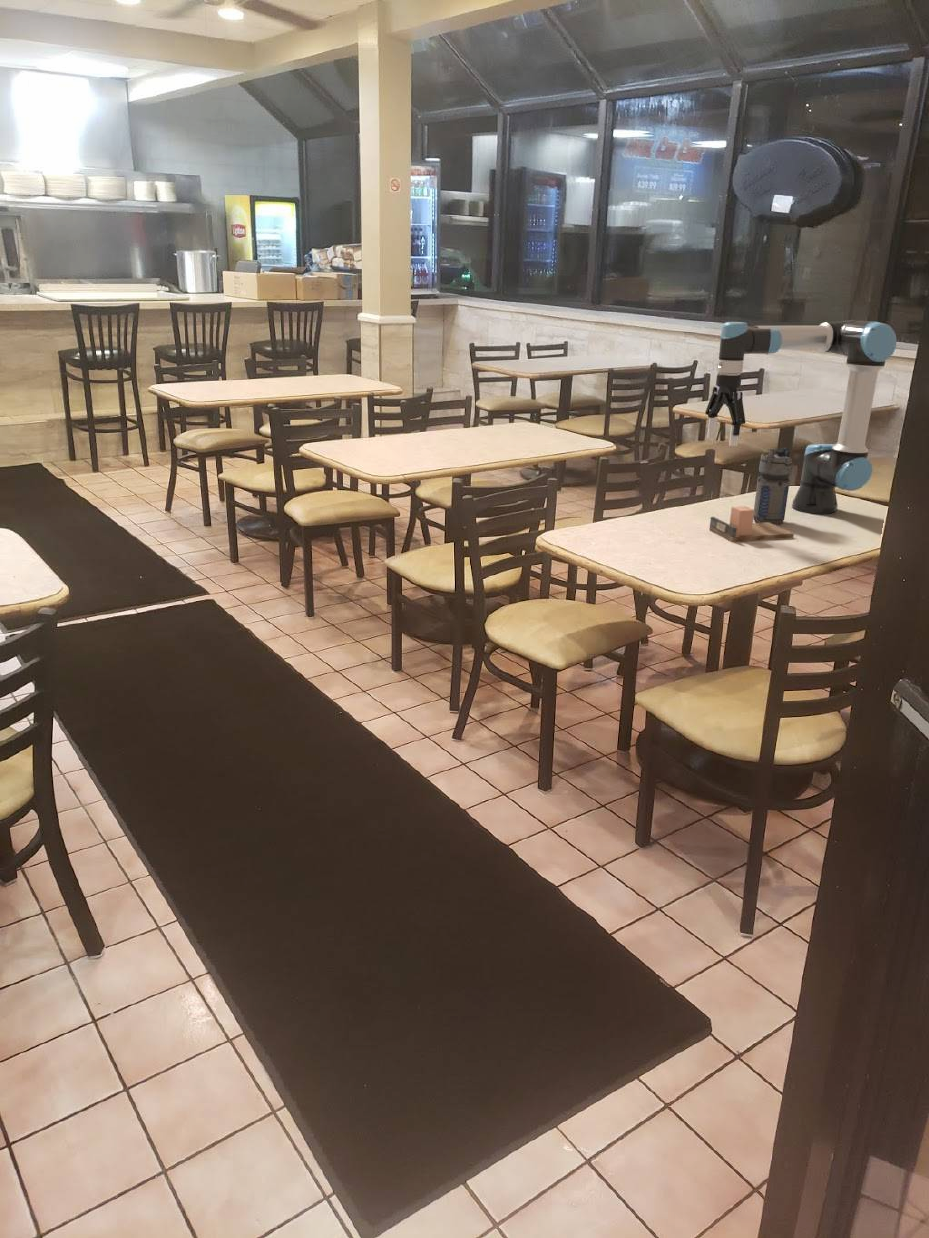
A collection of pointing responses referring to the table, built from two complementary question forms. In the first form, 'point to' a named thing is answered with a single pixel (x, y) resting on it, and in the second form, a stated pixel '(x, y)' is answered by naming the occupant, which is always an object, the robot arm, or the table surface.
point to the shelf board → (758, 532)
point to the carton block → (742, 520)
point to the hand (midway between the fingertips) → (722, 441)
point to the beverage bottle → (772, 487)
